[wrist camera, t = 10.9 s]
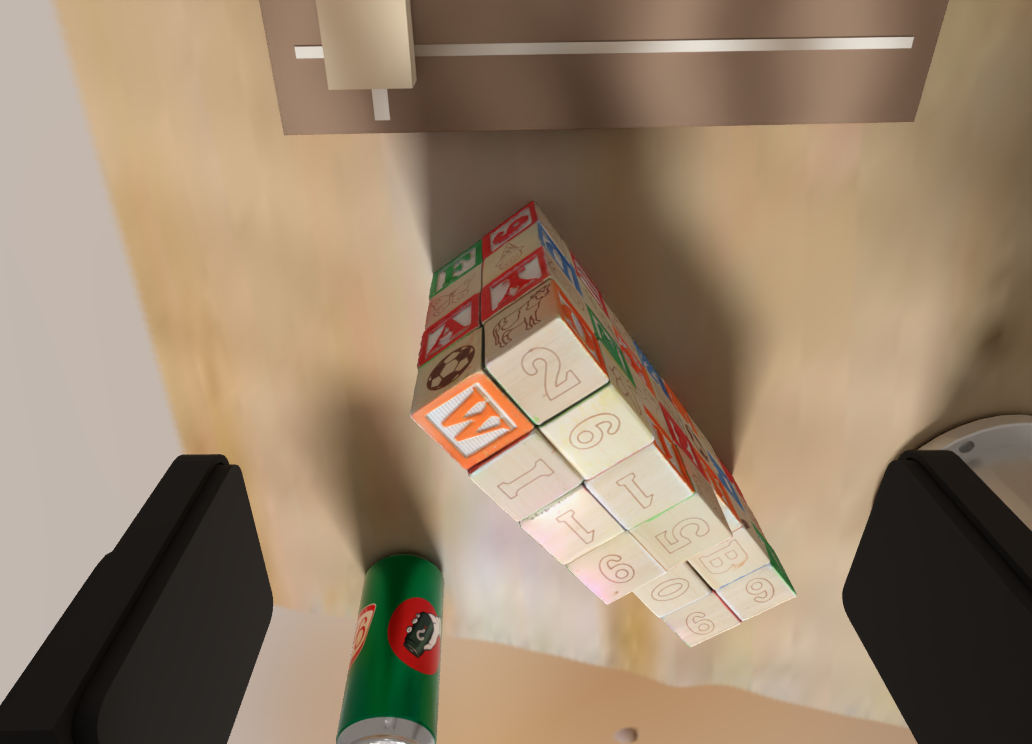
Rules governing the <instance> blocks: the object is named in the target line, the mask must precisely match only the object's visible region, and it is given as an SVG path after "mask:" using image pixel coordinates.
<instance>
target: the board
mask: <svg viewBox="0 0 1032 744" xmlns="http://www.w3.org/2000/svg"><path fill="white" fill-rule="evenodd" d="M259 1H260V7H261V12H262V18H263V23H264V29H265V34H266V39H267V45H268V50H269V56H270V61H271V67H272V72H273V77H274V83H275V88H276V94H277V99H278V105H279V110H280V115H281V121H282V126H283V132H284V135H314V134H361V133H408V132H455V131H502V130H548V129H595V128H642V127H689V126H736V125H783V124H830V123H877V122H914V119H915V116H916V112H917V109H918V105H919V102H920V98H921V95H922V91H923V88H924V84H925V81H926V77H927V74H928V70H929V67H930V63H931V60H932V57H933V53H934V50H935V46H936V43H937V39H938V36H939V32H940V29H941V25H942V22H943V18H944V15H945V11H946V8H947V4H948V1H949V0H410V3H411V16H412V28H413V40H414V53H415V65H416V78H417V80H416V82H415V85H414V87H413V88H403V89H350V90H329V89H328V82H327V75H326V68H325V61H324V54H323V48H322V41H321V34H320V27H319V20H318V13H317V6H316V0H259Z"/></svg>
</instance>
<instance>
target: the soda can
mask: <svg viewBox="0 0 1032 744" xmlns="http://www.w3.org/2000/svg"><path fill="white" fill-rule="evenodd" d="M443 597H444V578H443V575H442V573H441V572H440V570H439V569H438V568H437V567H436V566H435V565H434V564H433V563H432V562H430V561H429V560H427V559H426V558H424V557H421V556H419V555H415V554H410V553H399V554H393V555H390V556H387V557H385V558H383V559H381V560H379V561H378V562H376V563H375V564H374V565H372V566H371V567H370V569H369V570H368V571H367V573H366V576H365V580H364V585H363V591H362V597H361V602H360V608H359V613H358V619H357V625H356V631H355V636H354V641H353V647H352V653H351V659H350V664H349V670H348V675H347V681H346V687H345V692H344V698H343V704H342V709H341V714H340V720H339V726H338V731H337V737H336V744H436V740H437V739H436V738H437V720H438V699H439V680H440V679H439V678H440V659H441V639H442V618H443Z"/></svg>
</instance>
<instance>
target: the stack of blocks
mask: <svg viewBox="0 0 1032 744" xmlns="http://www.w3.org/2000/svg"><path fill="white" fill-rule="evenodd" d="M429 302H430V303H429V307H428V312H427V318H426V325H425V331H424V333H423V336H422V341H421V348H420V352H419V358H418V364H417V368H418V375H417V380H416V385H415V390H414V396H413V402H412V407H411V413H410V417H411V418H412V419H413V420H414V421H415V422H416V423H417V424H418V425H419V426H420V427H421V428H422V429H423V430H424V431H425V432H426V433H427V434H428V435H429V436H430V437H432V438H433V439H434V440H435V441H436V442H437V443H438V444H439V445H440V446H441V447H442V448H443V449H444V450H445V451H446V452H447V453H448V454H449V455H450V456H451V457H452V458H453V459H454V460H455V461H456V462H457V463H458V464H459V465H460V466H461V467H463V468H464V469H466V470H468V475H469V477H470V479H471V480H472V481H473V482H474V483H475V484H476V485H478V486H479V487H480V488H481V489H482V490H483V491H484V492H485V493H486V494H487V495H488V496H489V497H490V498H491V499H493V500H494V501H495V502H496V503H497V504H498V505H499V506H500V507H501V508H502V509H503V510H504V511H505V512H507V513H508V514H509V515H510V516H511V517H512V518H513V519H514V520H516V521H517V522H518V521H519V524H520V526H521V528H522V529H524V530H525V531H526V532H527V533H528V534H529V535H530V536H531V537H532V538H533V539H534V540H536V541H537V542H538V543H539V544H540V545H541V546H542V547H543V548H544V549H545V550H546V551H547V552H549V553H550V554H551V555H552V556H553V557H554V558H555V559H556V560H557V561H558V562H559V563H561V564H565V565H566V567H567V568H568V570H569V571H570V572H571V573H572V574H573V575H575V576H576V577H577V578H578V579H579V580H580V581H581V582H582V583H583V584H584V585H585V586H586V587H588V588H589V589H590V590H591V591H592V592H593V593H594V594H595V595H596V596H597V597H599V598H600V599H601V600H602V601H603V602H604V603H605V604H609V603H611V602H613V601H615V600H617V599H619V598H621V597H623V596H625V595H626V594H628V593H630V592H633V593H634V594H635V595H636V596H637V597H638V598H639V599H640V600H641V601H642V602H643V603H644V604H645V605H646V606H647V607H648V608H649V609H650V610H651V611H652V612H653V613H654V614H655V615H656V616H657V617H659V618H662V619H663V620H664V622H665V623H666V624H667V625H668V626H669V627H670V628H671V629H672V630H673V631H674V632H675V633H676V634H677V635H678V636H679V637H680V638H681V639H682V640H683V641H684V642H685V643H686V644H687V645H688V646H689V647H692V646H695V645H697V644H699V643H701V642H703V641H705V640H707V639H709V638H712V637H714V636H716V635H718V634H720V633H722V632H724V631H727V630H729V629H731V628H733V627H736V626H738V625H740V623H741V622H742V621H744V620H747V619H749V618H752V617H754V616H756V615H758V614H760V613H762V612H764V611H767V610H769V609H771V608H773V607H775V606H777V605H779V604H781V603H783V602H785V601H787V600H789V599H792V598H794V597H796V592H795V590H794V588H793V586H792V584H791V582H790V580H789V578H788V576H787V574H786V572H785V570H784V568H783V566H782V565H781V563H780V561H779V559H778V557H777V555H776V553H775V551H774V550H773V549H772V547H771V546H770V545H769V543H768V542H767V540H766V538H765V536H764V534H763V532H762V530H761V528H760V526H759V524H758V522H757V520H756V519H755V517H754V515H753V513H752V511H751V510H750V508H749V507H748V505H747V503H746V501H745V499H744V497H743V495H742V493H741V491H740V489H739V487H738V485H737V483H736V482H735V480H734V478H733V476H732V475H731V473H730V472H729V471H728V470H727V468H726V467H725V466H724V464H723V463H722V462H721V460H720V459H719V458H718V456H717V455H716V454H715V452H714V450H713V448H712V446H711V444H710V443H709V442H708V440H707V439H706V438H705V436H704V435H703V433H702V432H701V431H700V429H699V428H698V427H697V425H696V424H695V422H694V421H693V420H692V418H691V417H690V416H689V415H688V414H687V412H686V410H685V409H684V407H683V406H682V404H681V403H680V402H679V400H678V399H677V397H676V396H675V395H674V393H673V392H672V391H671V389H670V388H669V386H668V385H667V384H666V382H665V381H664V379H663V378H662V377H659V375H658V374H657V372H656V371H655V369H654V368H653V367H652V365H651V364H650V363H649V361H648V360H647V359H646V357H645V356H644V354H643V353H642V352H641V350H640V349H639V347H638V346H637V345H636V343H635V342H634V340H632V339H631V337H630V336H629V334H628V333H627V331H626V330H625V329H624V327H623V326H622V325H621V323H620V322H619V320H618V319H617V318H616V316H615V315H614V314H613V312H612V311H611V310H610V308H609V307H608V305H607V304H606V303H605V301H604V300H603V299H602V297H601V294H600V292H599V291H598V290H597V288H596V287H595V285H594V284H593V282H592V281H591V280H590V278H589V277H588V276H587V274H586V273H585V271H584V270H583V268H582V267H581V266H580V264H579V263H578V262H577V260H576V259H575V257H574V256H573V255H572V253H571V252H570V250H569V249H568V247H567V245H566V244H565V242H564V241H563V240H562V238H561V237H560V235H559V234H558V233H557V231H556V230H555V228H554V227H553V226H552V224H551V223H550V221H549V220H548V219H547V217H546V216H545V214H544V213H543V212H542V210H541V209H540V207H539V206H538V205H537V203H536V202H534V201H532V202H530V203H529V204H528V205H526V206H525V207H524V208H522V209H521V210H519V211H518V212H517V213H515V214H514V215H513V216H511V217H510V218H508V219H507V220H506V221H504V222H503V223H502V224H500V225H499V226H498V227H496V228H495V229H494V230H492V231H491V232H490V233H488V234H487V235H485V236H484V237H483V238H482V239H481V240H480V241H479V242H477V243H476V244H475V245H473V246H472V247H471V248H469V249H468V250H466V251H465V252H464V253H462V254H461V255H459V256H458V257H457V258H455V259H454V260H452V261H451V262H450V263H448V264H447V265H445V266H444V267H443V268H441V269H440V270H438V271H437V272H436V273H434V274H433V279H432V283H431V288H430V295H429Z"/></svg>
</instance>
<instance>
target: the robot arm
mask: <svg viewBox="0 0 1032 744" xmlns="http://www.w3.org/2000/svg"><path fill="white" fill-rule="evenodd" d="M842 599H843V605H844V609H845V612H846V614H847V616H848V618H849V620H850V621H851V623H852V625H853V627H854V629H855V631H856V632H857V634H858V636H859V638H860V640H861V641H862V643H863V645H864V647H865V649H866V650H867V652H868V654H869V656H870V658H871V660H872V661H873V663H874V665H875V667H876V669H877V670H878V672H879V674H880V676H881V678H882V680H883V681H884V683H885V685H886V687H887V689H888V690H889V692H890V694H891V696H892V698H893V699H894V701H895V703H896V705H897V707H898V709H899V710H900V712H901V714H902V716H903V718H904V719H905V721H906V723H907V725H908V727H909V728H910V730H911V732H912V734H913V736H914V738H915V739H916V741H917V743H918V744H1032V416H1030V415H1001V416H996V417H990V418H985V419H980V420H977V421H974V422H971V423H968V424H965V425H962V426H959V427H957V428H955V429H953V430H950V431H948V432H946V433H944V434H942V435H940V436H938V437H936V438H935V439H933V440H932V441H930V442H928V443H927V444H925V445H924V446H922V447H921V448H919V449H918V450H908V451H905V452H903V453H902V454H901V455H900V457H899V458H898V460H895V461H892V462H891V463H890V464H889V465H888V467H887V469H886V472H885V475H884V478H883V480H882V483H881V486H880V489H879V491H878V494H877V497H876V500H875V502H874V505H873V508H872V511H871V513H870V516H869V519H868V522H867V524H866V527H865V530H864V532H863V535H862V538H861V541H860V543H859V546H858V549H857V552H856V554H855V557H854V560H853V563H852V565H851V568H850V571H849V574H848V576H847V579H846V582H845V585H844V587H843V592H842ZM272 611H273V596H272V591H271V587H270V583H269V579H268V575H267V571H266V567H265V563H264V559H263V555H262V551H261V547H260V543H259V539H258V535H257V531H256V527H255V523H254V519H253V515H252V511H251V507H250V503H249V499H248V495H247V491H246V487H245V483H244V479H243V475H242V472H241V469H240V467H239V466H238V465H229V462H228V460H227V458H226V457H225V456H224V455H221V454H210V455H180V456H178V457H177V458H176V459H175V460H174V461H173V463H172V464H171V466H170V467H169V469H168V470H167V472H166V473H165V475H164V476H163V478H162V479H161V481H160V482H159V483H158V485H157V486H156V488H155V489H154V491H153V493H152V494H151V495H150V497H149V498H148V500H147V501H146V503H145V504H144V506H143V507H142V508H141V510H140V512H139V513H138V514H137V516H136V517H135V519H134V520H133V522H132V523H131V525H130V526H129V528H128V529H127V531H126V532H125V534H124V535H123V536H122V538H121V539H120V541H119V542H118V544H117V545H116V547H115V548H114V550H113V551H112V552H111V553H109V554H107V555H105V557H104V558H103V559H102V560H101V561H100V562H99V563H98V565H97V566H96V567H95V569H94V570H93V572H92V573H91V575H90V576H89V578H88V579H87V580H86V582H85V583H84V585H83V586H82V588H81V589H80V591H79V592H78V594H77V595H76V596H75V598H74V599H73V601H72V602H71V604H70V605H69V607H68V608H67V609H66V611H65V612H64V614H63V615H62V617H61V618H60V620H59V621H58V622H57V624H56V625H55V627H54V629H53V630H52V631H51V633H50V634H49V636H48V637H47V638H46V640H45V641H44V643H43V644H42V646H41V647H40V649H39V650H38V651H37V653H36V654H35V656H34V657H33V659H32V660H31V662H30V663H29V665H28V666H27V667H26V669H25V670H24V672H23V673H22V675H21V676H20V678H19V679H18V681H17V682H16V683H15V685H14V686H13V688H12V689H11V691H10V692H9V694H8V695H7V696H6V698H5V700H4V701H3V702H2V704H1V705H0V744H227V742H228V739H229V736H230V733H231V730H232V728H233V725H234V722H235V719H236V716H237V714H238V711H239V708H240V705H241V702H242V699H243V697H244V694H245V691H246V688H247V686H248V683H249V680H250V677H251V674H252V672H253V669H254V666H255V663H256V660H257V657H258V655H259V652H260V649H261V646H262V643H263V641H264V638H265V635H266V632H267V629H268V627H269V624H270V621H271V617H272Z"/></svg>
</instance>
